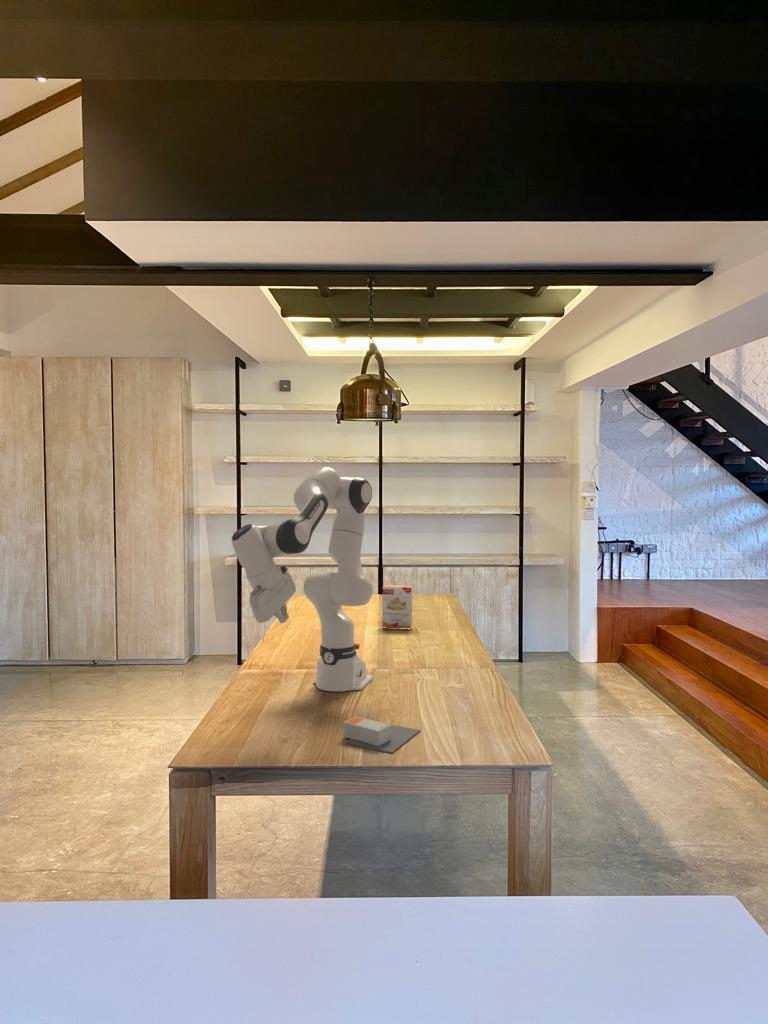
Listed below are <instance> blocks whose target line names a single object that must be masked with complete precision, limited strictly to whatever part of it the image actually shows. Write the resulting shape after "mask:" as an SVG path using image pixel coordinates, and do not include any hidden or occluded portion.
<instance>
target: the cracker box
mask: <svg viewBox="0 0 768 1024" xmlns="http://www.w3.org/2000/svg"><path fill="white" fill-rule="evenodd" d="M381 617H382V619H381V620H382V621H381V622H382V624H381V625H382V627H386V628H411V627H413V585H393V584H392V585H391V584H384V585H383V586H382V615H381ZM382 627H381V628H382ZM411 629H412V628H411Z"/></svg>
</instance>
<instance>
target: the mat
mask: <svg viewBox="0 0 768 1024" xmlns="http://www.w3.org/2000/svg"><path fill="white" fill-rule="evenodd" d="M390 725H391V740H389V741H387V742H386V743H384V744H382V745H380V746H375V745H371V744H368V743H365V742H361V741H358V740H354V739H351V738H349V739H348V740H347V741H345V742H344V745H346V746H351V747H357V748H362V749H368V750H373V751H378V752H382V753H387V754H394V753H395V752H397V751H398V750H400V748H402V747H403V746H404V745H405V744H406V743H408V742H409V741H410V740H412V739H413V738H415V736H417V735H418V734H419V733H420V732H421V729H417V728H411V727H405V726H401V725H393V724H390Z"/></svg>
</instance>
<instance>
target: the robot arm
mask: <svg viewBox="0 0 768 1024" xmlns="http://www.w3.org/2000/svg"><path fill="white" fill-rule="evenodd" d="M372 497H373V489H372V486H371V484H370V482H369V481H368V480H367V479H366V478H362V477H358V476H357V477H352V476H351V477H350V476H340V475H339V474H338V472H337V471H336V470H335V469H333V468H332V467H329V466H325V467H324V466H323V467H320V468H318V469H316V470H315V471H313V472H312V473H311V474H309V475H308V476H307V477H306V478H305V479H304V480H303V481H302V482H301V483H300V484H299V485H298V486H297V487H296V490H295V491H294V493H293V502H294V506H295V507H296V508H297V510H298V511H299V512H300V513H299V514H298V515H297V516H296V517H292V518H290V519H286V520H285V521H280V522H278V523H273V524H268V525H255V524H253V523H248V524H245V525H243V526H242V527H239V528H238V529H237V530H235V532H234V533H233V535H232V536H231V544H232V545H231V546H232V547H233V551H234V553H235V556H236V557H237V560H238V562H239V564H240V566H242V568H243V569H244V571H245V576H246V579H247V580H248V582H249V585H250V587H251V589H252V591H251V592H250V594H249V605H250V608H251V611H252V614H253V616H254V618H255V621H256V622H257V623H259V624H263V623H266V622H269V621H270V620H271V618H273V617H275V618H276V619H278V622H279V623H280V624H285V623H286V622H287V621H288V619H290V616H289V613H288V606H287V602H288V600H289V599H291V597H293V595H294V594H295V593H296V592H297V589H296V585H295V582H294V579H293V577H292V576H291V574H290V573H289V571H288V570H289V568H288V566H287V564H281V565H280V564H279V565H276V563H275V561H274V558H277V557H283V556H286V555H294V554H295V555H297V554H301V553H303V552H305V550H307V548H308V547H309V545H310V542H311V539H312V535H313V533H314V531H315V529H316V528H317V527H318V525H319V523H320V522H321V520H322V519H323V517H324V516H325V514H326V512H327V509H330V510H336V514H335V517H334V520H333V523H332V529H331V533H330V540H329V545H328V554H329V556H330V558H331V559H332V560H333V561H335V562H336V564H337V572H332V571H318V572H317V571H316V572H313V573H310V574H308V576H307V577H306V579H305V580H304V583H303V592H304V595H305V598H306V599H307V600H309V601H310V603H311V604H312V605H313V607H314V608H315V610H316V612H317V614H318V618H319V623H320V630H321V631H320V634H321V635H320V636H321V639H320V640H321V643H320V645H319V646H320V647H319V656H320V658H318V660H317V666H316V676H315V678H314V679H313V684H315V686H316V687H317V689H319V690H321V691H326V692H348V691H361V690H363V689H365V687H366V686H367V685H368V684H369V683H370V682H371V681H372V680H373V679H374V678H373V675H371V674H369V673H367V664H366V662H365V661H364V660H363V659H362V658H361V657H359V655H357V650H359V649H360V643H355V639H354V638H355V633H354V632H355V631H354V628H355V625H354V622H353V620H352V619H351V618H350V617H349V616H348V615H347V614H346V613H345V612H344V610H343V607H352V608H353V607H361V606H365V605H367V604H368V603H370V600H371V599H372V597H373V592H374V587H373V583H372V581H371V580H370V579H369V577H368V576H367V575H366V574H365V572H364V570H363V567H362V563H361V555H362V554H361V553H362V544H363V538H364V531H365V510H366V508H367V507H368V506H369V505H370V502H371V500H372ZM342 606H343V607H342Z"/></svg>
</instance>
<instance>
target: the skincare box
mask: <svg viewBox="0 0 768 1024" xmlns="http://www.w3.org/2000/svg"><path fill="white" fill-rule="evenodd" d="M342 724H343V725H342V737H344V738H348V739H354V740H358V741H361V742H365V743H368V744H371V745H375V746H380V745H382V744H384V743H386V742H387V741H389V740H391V725H392V724H389V723H388V724H387V723H384V722H380V721H376V720H374V719H373V720H372V719H368V718H366V717H363V716H357V715H356V716H353V717H351V718H349V719H346V720H345V721H343V722H342Z"/></svg>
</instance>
